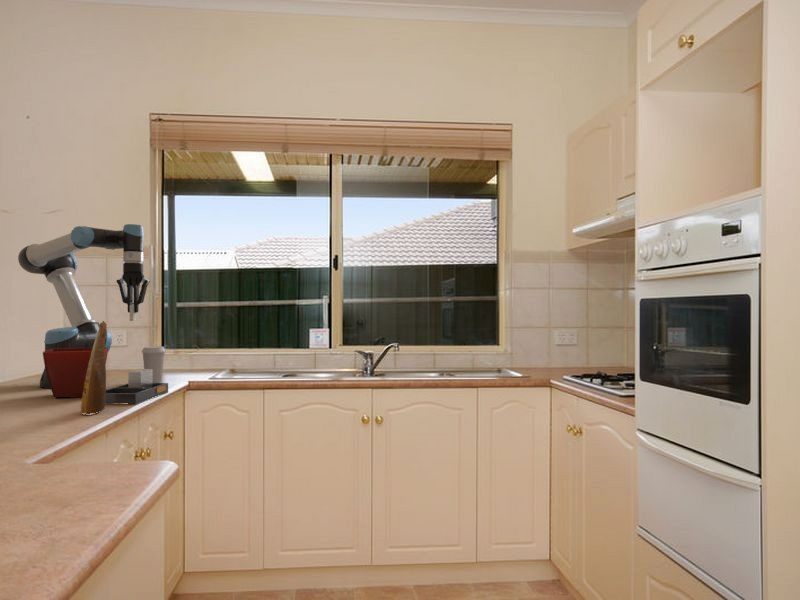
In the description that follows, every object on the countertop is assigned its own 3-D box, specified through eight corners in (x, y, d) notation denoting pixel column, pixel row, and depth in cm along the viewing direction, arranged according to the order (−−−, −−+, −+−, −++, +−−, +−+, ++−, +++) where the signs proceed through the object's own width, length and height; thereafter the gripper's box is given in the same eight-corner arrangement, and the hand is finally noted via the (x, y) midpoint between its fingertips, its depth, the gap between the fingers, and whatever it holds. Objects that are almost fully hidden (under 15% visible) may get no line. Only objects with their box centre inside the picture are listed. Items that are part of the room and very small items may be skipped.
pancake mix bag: (113, 406, 201) (113, 320, 201) (101, 416, 182) (102, 322, 182) (90, 406, 199) (91, 320, 199) (76, 417, 180) (77, 322, 181)
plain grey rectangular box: (128, 394, 220) (128, 371, 220) (140, 390, 230) (140, 368, 230) (140, 394, 219) (140, 371, 220) (152, 390, 229) (152, 369, 230)
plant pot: (51, 393, 228) (51, 347, 228) (108, 390, 235) (108, 346, 235) (41, 400, 210) (41, 351, 210) (103, 398, 217) (103, 350, 217)
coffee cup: (136, 382, 258) (136, 347, 258) (154, 380, 266) (155, 345, 266) (152, 384, 253) (152, 348, 254) (170, 381, 262) (170, 346, 262)
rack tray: (92, 404, 204) (92, 393, 204) (129, 392, 232) (129, 382, 232) (136, 404, 204) (136, 393, 204) (169, 392, 232) (169, 383, 232)
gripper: (113, 262, 246) (112, 321, 245) (145, 262, 245) (144, 321, 245) (121, 263, 253) (121, 320, 253) (153, 263, 253) (152, 320, 253)
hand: (132, 320), depth 249 cm, fingers closed
